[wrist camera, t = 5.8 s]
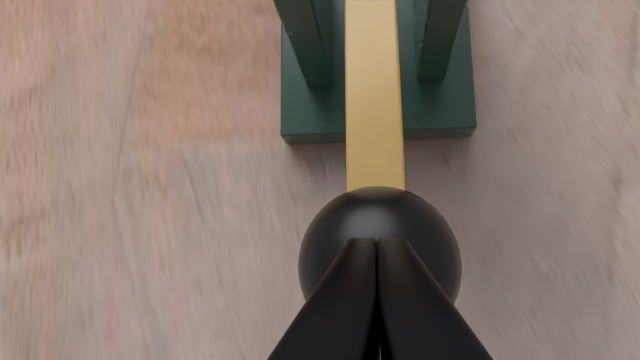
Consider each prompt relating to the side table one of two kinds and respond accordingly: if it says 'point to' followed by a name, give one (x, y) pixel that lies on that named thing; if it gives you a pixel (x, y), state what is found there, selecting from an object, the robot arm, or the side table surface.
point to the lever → (376, 161)
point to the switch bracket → (415, 70)
